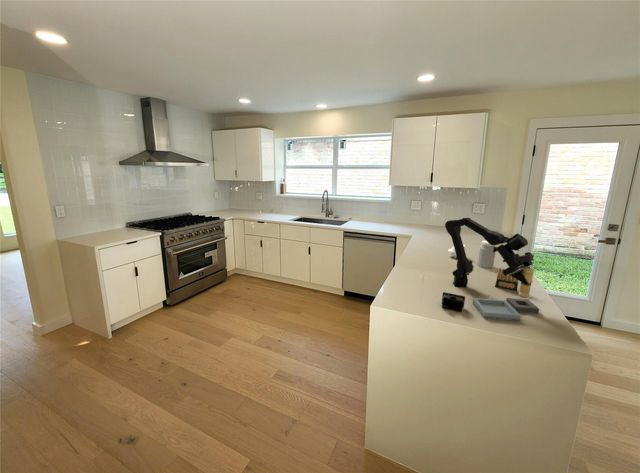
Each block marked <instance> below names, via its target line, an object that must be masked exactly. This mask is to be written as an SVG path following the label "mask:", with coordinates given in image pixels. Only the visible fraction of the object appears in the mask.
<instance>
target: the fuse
mask: <svg viewBox="0 0 640 473" xmlns="http://www.w3.org/2000/svg"><path fill="white" fill-rule="evenodd" d="M534 273H535V269H534V268H531V267H530V268H527V267H524V268H523V275H524V277H525V278H526V280H527V282H528V284H527V285H526V284H524V283H522V282H521V281H520V286H519V290H518V296H519V297H521V298H523V299H528V298H530V294H531V293H530V291H531V287H532V283H533V282H532V281H533V277H534Z"/></svg>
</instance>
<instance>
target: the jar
mask: <svg viewBox="0 0 640 473" xmlns="http://www.w3.org/2000/svg"><path fill="white" fill-rule="evenodd" d="M494 247H496V245H494V246H493V245H491V244H489V243H488V242H487V241H486V240H485V239H484V240H481V244H480V246H479V250H478V258H477V265H478V267H479V268H481V269H483V268H484V269H492V268H493V267H494V264H495V257H496V252H493V249H494Z"/></svg>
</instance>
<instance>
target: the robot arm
mask: <svg viewBox="0 0 640 473" xmlns="http://www.w3.org/2000/svg"><path fill="white" fill-rule="evenodd" d="M464 226H465V227H467V228H468V229H470V230H471V231H472V232H474V233H477V234H478V235H480V236H481V237H482V238H484V240H486V241H487V242H488V243H489V244H491V245H493V246H494V245H495V247H494V249H493V252H495V253H496V252H498V254H499V255H500V257H501V258H502V259H503V260H502V262H503V263H506V265H507V266H508V267H506V268H504V270H503V269H502V270H503V274H504V275H505V276H506V275H509V274H510V273H511V275H509V276H511V278H512V277H514V278H515V279H517V280H519V281H518V282H520V283H521V282H522V283H524V284H526V285H527V284H528V282H527V280H526V278H525V277H524V275H523V268H524V267H527V268H531V266H532V265H534V262H533V261H535V259H534V257H535V255H534V254H533V253H531V252H530V251H528V252H524V254H523V255H520V254H519V253H516V252H518V251H519V250H520V249H522V248H525V247H527V246H528V245H529V242H528V240H527V238H525V237H524V236H523V235H521V234H520V233H515V234H514V235H512V236H511V237H508V236H505V235H504V234H503V233H501V232H498V231H495V230H491V229H488V228H487V227H485V226H484V225H482V224H480V223H478V222H477V221H475V220H473V219H472V218H470V217H463V218H461V219H460V218H459V219H450V220H447V221H446V222H445V224H444V227H445V231H446V232H447V233H448V234H449V236H450V237H451V240H452V244H453V245H452V246H454V248H455V252H456V259H457V262H456V269H455V270H453V271H452V272H451V273H452V276H453V281H452V284H453V285H454V287H456V288H468V282H469V279H468V276H469V275H470V274H471V273H472V272H474V267H475V266H474V265H473V260H471V259H470V260H469V258H467V254H466V250H464V246H463V245H464V244H463V243H464V242H463V241H462V237H461V232H462V231H461V230H462V227H464ZM515 251H516V252H515ZM532 283H533V280H532Z"/></svg>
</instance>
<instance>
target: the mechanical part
mask: <svg viewBox="0 0 640 473" xmlns="http://www.w3.org/2000/svg"><path fill="white" fill-rule="evenodd" d="M463 246H464V250H465V251H466V249H467V246H466V245H465V244H463ZM448 253H450V255H451V256H450V257H451V258H453V257H454V258H457V256H456V252H455V248H454V245H452V246H451V248H449V249H448Z"/></svg>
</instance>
